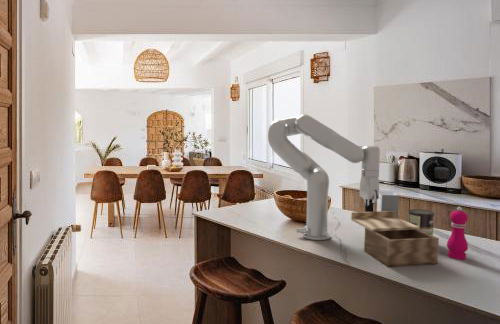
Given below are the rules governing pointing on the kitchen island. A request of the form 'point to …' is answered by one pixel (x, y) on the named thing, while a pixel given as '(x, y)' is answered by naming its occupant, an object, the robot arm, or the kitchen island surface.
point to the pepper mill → (458, 235)
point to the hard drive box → (388, 201)
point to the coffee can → (422, 220)
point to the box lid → (381, 221)
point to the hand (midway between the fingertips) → (368, 213)
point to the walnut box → (401, 247)
